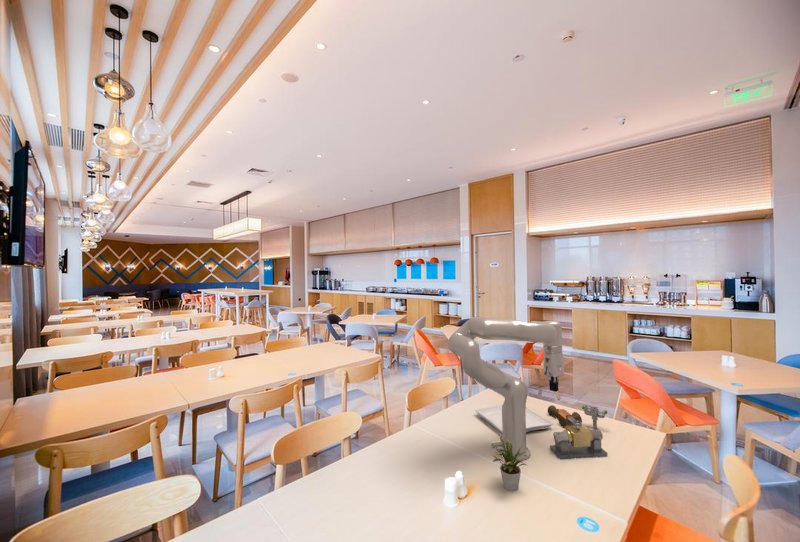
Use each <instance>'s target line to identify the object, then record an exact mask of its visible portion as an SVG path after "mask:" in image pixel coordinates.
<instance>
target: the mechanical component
mask: <svg viewBox="0 0 800 542" xmlns="http://www.w3.org/2000/svg"><path fill="white" fill-rule="evenodd" d="M581 408H582V410H583V411H584V414H585V415H586V416H590V417H591V419H592V428H593V429H592V430H596V429H597V428H598V424H597V421H599V418H600V419H604V418H605V417H606V415H607V414H608V410H606V409H602V410H601V411H600V410H599V408H598V406H597V407H596V406H592V405H588V404H584V405H582V407H581Z"/></svg>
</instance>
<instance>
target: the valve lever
mask: <svg viewBox="0 0 800 542" xmlns="http://www.w3.org/2000/svg"><path fill="white" fill-rule="evenodd" d="M558 409H559V414H560V415H561V416H563V417H564V418H565V419H569V420H570V421H571V422H572V426H573V425H574V426H576V427H582V426H583V421H582V422H580V421H579V420H575V419H574V418H573V417H571V415H572V414H571V413H570V412H568V411H567V410H566V409H564V408H562V409H560V408H558Z"/></svg>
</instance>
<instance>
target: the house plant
mask: <svg viewBox="0 0 800 542" xmlns="http://www.w3.org/2000/svg"><path fill="white" fill-rule="evenodd" d="M497 436H498V437H499V440H500V439H501V442H502V445H503V448H504V451H502V452H499V451H501V450H500V449H499V450H498V452H497V453H496V455H498V456H499V455H501V456H502V458H503V460H502V459H500V458H498V457H497V456H495V455H494V454H493V455H492V454H490V456H492V457H493V458H494V459H493V461H492V464H493V463H494V462H500V463H501V465H500V466H499V470H500V474H501V480H502V486H503V487H504V489H506V490H508V491H509V492H511V491H512V492H513V491H514V492H516V491H518V490H519V487H520V478H521V474H522V473H521V472H522V470H521V468H520V466H527V463H524V462H523V460H517V459H516V458H517V457H519V456H521V455H522V454H523V453H525V452H528V451H524V452H523V453H519V451H520V449H521V447H522V446H521V447H520V449H519V450H518V452H517V454H516V455H514V456H513V455H512V444H511V442H510V440H508V439H506V448H505V444H504V441H503V437H501V436H500V435H499V434H497ZM513 442H514V441H513ZM491 443H492V442H491ZM491 443H490V442H488V444H490V445H491ZM493 445H494V444H493ZM494 446H496V445H494ZM508 446H509V449H508ZM496 447H497V446H496ZM506 450H507V451H506ZM520 463H521V464H520Z"/></svg>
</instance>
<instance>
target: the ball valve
mask: <svg viewBox="0 0 800 542" xmlns="http://www.w3.org/2000/svg"><path fill="white" fill-rule="evenodd" d="M552 433H553V434H552V435H553V440H554V443H555V444H554V445H549V450H550V451H551V452H552V453H554V455H555V456H556V457H557V458H558V459H559V460H573V459H575V458H576V459H588V458H603V457H604V458H605V457H608V452H607V451H606V450H604V449H603V448H602V440H603V433H602V431H601V430H600V429H590V428H586V427H584V426H583V425H582V427H576V426H574V425H573V424H572V425H568V426H566V427H565V429H563V430H562V431H554V432H552Z"/></svg>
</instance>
